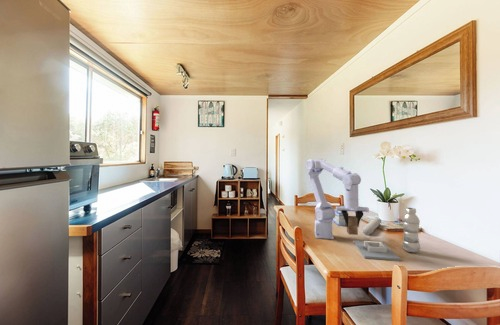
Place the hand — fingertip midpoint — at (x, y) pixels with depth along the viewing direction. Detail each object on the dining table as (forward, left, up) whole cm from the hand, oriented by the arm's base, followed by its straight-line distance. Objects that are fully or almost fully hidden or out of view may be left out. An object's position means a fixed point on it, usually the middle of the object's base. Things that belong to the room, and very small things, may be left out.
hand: (352, 226), depth 107 cm
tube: (+18, +30, -11) cm, 36 cm away
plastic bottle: (+25, 0, -11) cm, 28 cm away
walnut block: (0, 0, -4) cm, 3 cm away
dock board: (+9, -2, -11) cm, 14 cm away
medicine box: (+1, +39, -11) cm, 40 cm away
